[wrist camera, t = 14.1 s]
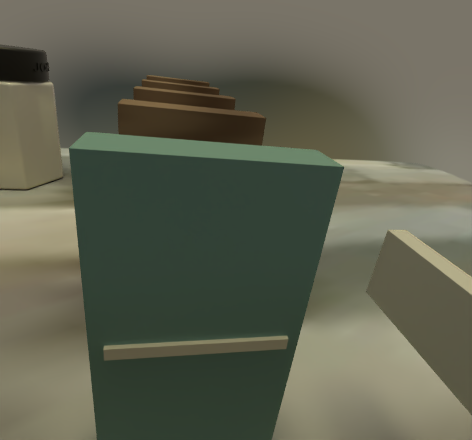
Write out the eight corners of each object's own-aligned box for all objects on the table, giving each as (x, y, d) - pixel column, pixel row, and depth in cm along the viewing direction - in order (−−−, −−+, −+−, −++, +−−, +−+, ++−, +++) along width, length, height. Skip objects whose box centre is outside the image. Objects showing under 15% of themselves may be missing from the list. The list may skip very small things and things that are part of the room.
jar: (73, 184, 33) (60, 53, 28) (-27, 197, 28) (-65, 39, 23) (46, 160, 39) (32, 48, 34) (-41, 167, 34) (-73, 36, 29)
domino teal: (99, 475, 11) (67, 150, 6) (108, 420, 13) (87, 130, 8) (270, 452, 12) (347, 168, 8) (257, 405, 14) (314, 148, 9)
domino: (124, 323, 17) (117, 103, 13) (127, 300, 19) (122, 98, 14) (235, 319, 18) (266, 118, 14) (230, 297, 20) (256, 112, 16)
